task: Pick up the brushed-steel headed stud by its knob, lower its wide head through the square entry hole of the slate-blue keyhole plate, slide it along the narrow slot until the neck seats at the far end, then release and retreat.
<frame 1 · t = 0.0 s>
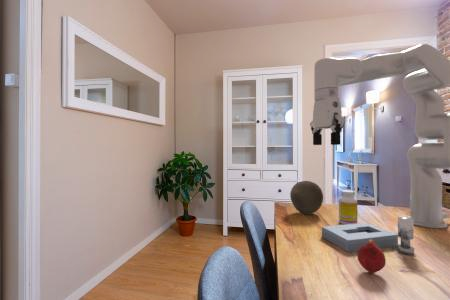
hand: (325, 144, 83), 31 cm above the table, fingers open, 9 cm apart
onion: (371, 273, 57), on the table
keyhole plate: (358, 241, 77), on the table
supplement bottle: (347, 223, 94), on the table
stud: (405, 252, 68), on the table
dark brown ball: (306, 214, 107), on the table
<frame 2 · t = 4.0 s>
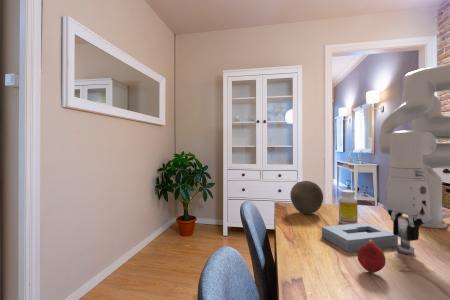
hand: (405, 236, 68), 4 cm above the table, fingers closed on stud, 3 cm apart
stud: (405, 252, 68), on the table, touching gripper
everything else where it was.
when the fingers open (5 cm above the table, at t = 10.3 s): stud stays where it is, resting in keyhole plate.
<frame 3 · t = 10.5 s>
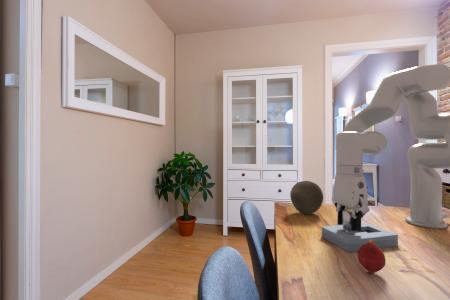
hand: (348, 226, 76), 5 cm above the table, fingers open, 5 cm apart
stud: (348, 242, 76), resting in keyhole plate
everything else where it was.
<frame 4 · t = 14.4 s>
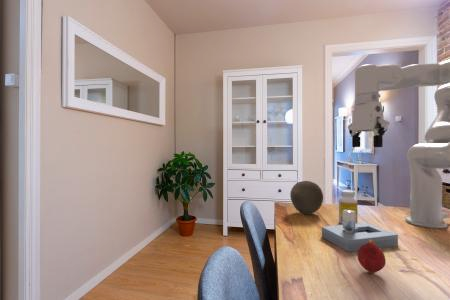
hand: (366, 147, 86), 30 cm above the table, fingers open, 9 cm apart
nothing on the table moved.
at the end: stud 0.2 cm from the target spot on the keyhole plate, point 0.0 cm above the keyhole plate's base; stud tilted 0°; the gripper is holding nothing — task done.
